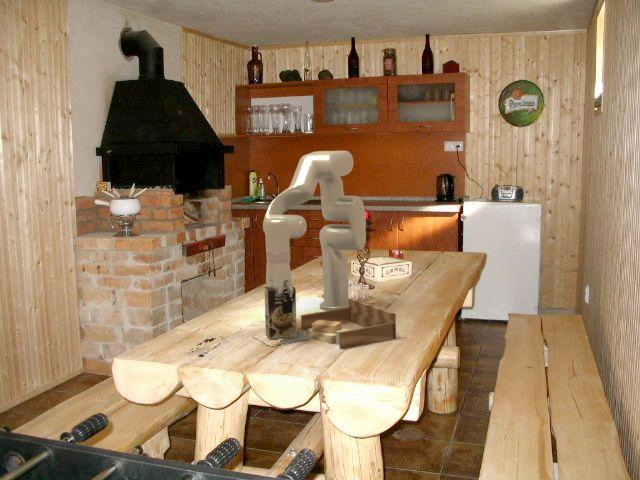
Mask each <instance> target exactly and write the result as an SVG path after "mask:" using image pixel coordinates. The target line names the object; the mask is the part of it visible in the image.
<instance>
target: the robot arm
mask: <svg viewBox="0 0 640 480" xmlns="http://www.w3.org/2000/svg"><path fill="white" fill-rule="evenodd" d="M353 168H354V158H353V155H352V154H351V152H349V151H348V150H319V151H312V152H310V153H307V154H304V155H303V156H301V158H299V161H298V164H297V167H296V168H295V172H294V174H293V176H292V180H291V182H290V185H289V186H288V187H287V188H286V189H285V190H283V191H282V192H281V193H279V194H278V195H277V196H276V197H275V198H274V199H272V201H271V202H270V204H269V205H268V208H267V210H266V212H265V214H264V218H263V221H262V231H263V233H264V234H265V235H264V236H265V239H264V240H265V254H266V255H265V256H266V266H265V267H266V268H265V281H266V282H265V283H266V284H265V287H268V288H272V289H274V290H276V294H277V295H280V294H281V295H282V298H283V301H282V308H283V314H287V313H292V312H293V309H292V300H293V292H294V289H293V288H292V286H293V285H292V284H293V281H292V272H291V266H290V262H291V244H290V239H298V238H301V237H303V236H304V235H305V233H306V231H307V228H308V223H307V221H306V219H305V218H304V217H303V216H302V215H298V214H285V212H287V211H288V210H290V209H292V208H294V207H297V206H299V205H301V204H304V203H306V202H308V201H309V200H311V199H312V198H313V197H314V194H315V190H316V188H317V186H318V184H319V188H320V190H319V191H320V203H321V204H320V205H321V213H322V217H323V219H324V220H326V221H328V222H329V221H330V222H345V223H346V222H347V223H349V224H341V223H339V224H337V223H335V224H334V223H333V224H327V225H324V226H323V227H322V228H321V229H320V230H319V235H318V236H319V243H320V247H321V253H322V254H321V255H322V277H323V279H322V281H323V283H322V284H323V294H322V295H321V298H322V299H323V301H322V302H320V304H319V308H320V309H322V310H326V311H330V310H336V309H342V308H348V307H349V299H350V298H349V296H350V295H349V293H350V292H349V261H348V257H347V256H346V254H345V252H344V251H361V250H363V249H364V248H365V245H366V241H367V240H366V239H367V233H366V214H365V211H366V210H365V205H364V202H363V199H362V198H361V197H359V196H357V195H345V194H344V193H345V192H344V182H343V180H342V178H341V177H343V176H346V175H347V176H348V175H349V174H350V173H351V171H352V170H353ZM285 289H287V290H288V291H284V292H283V290H285ZM286 294H287V295H286ZM285 295H286V297H285Z"/></svg>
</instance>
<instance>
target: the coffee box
mask: <svg viewBox="0 0 640 480" xmlns="http://www.w3.org/2000/svg"><path fill="white" fill-rule="evenodd" d="M292 288H293V289H294V292H293V300H292V309H293V312H292V313H287V314H283V308H282V301H283V298H282V295H281V294H280V295H277V294H276V290H274V289H272V288H268V287H266V286H264V315H265V316H264V319H265V320H264V321H265V325H264V326H265V333H266V336H267V338H268V339H269V340H278V339H287V338H296V337H297V332H298V331H297V296H296V294H297V293H296V291H297V289H296V288H295V287H294V286H293V285H292ZM284 291H288V290H287V289H285V290H283V292H284ZM286 295H287V294H286ZM286 295H285V297H286Z"/></svg>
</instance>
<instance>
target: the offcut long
mask: <svg viewBox="0 0 640 480" xmlns="http://www.w3.org/2000/svg"><path fill="white" fill-rule="evenodd" d="M306 336H307V337H309V338H311V339H313V338H314V340H316V341H321V342H324V343H328V344H331V345H334V344H336V334H332V333H322V332H312V328H310V329H307V330H306Z"/></svg>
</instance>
